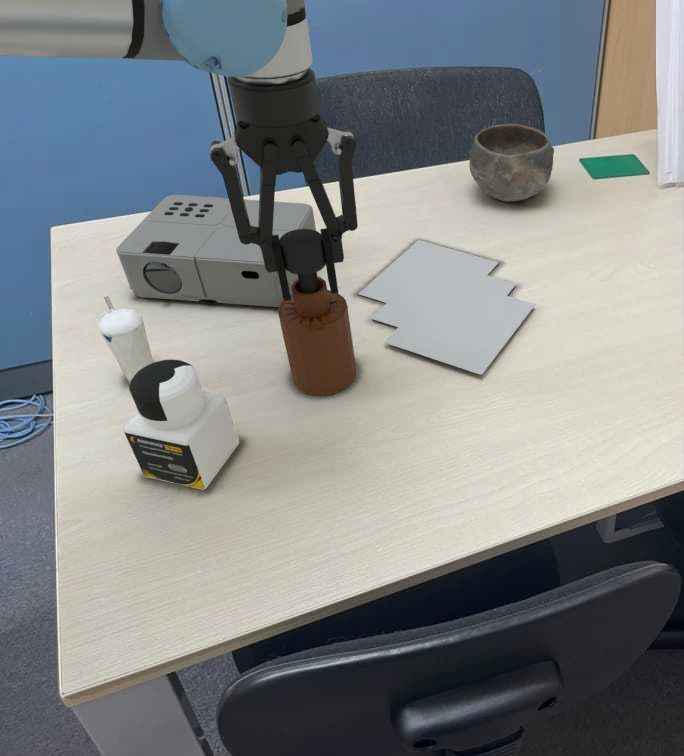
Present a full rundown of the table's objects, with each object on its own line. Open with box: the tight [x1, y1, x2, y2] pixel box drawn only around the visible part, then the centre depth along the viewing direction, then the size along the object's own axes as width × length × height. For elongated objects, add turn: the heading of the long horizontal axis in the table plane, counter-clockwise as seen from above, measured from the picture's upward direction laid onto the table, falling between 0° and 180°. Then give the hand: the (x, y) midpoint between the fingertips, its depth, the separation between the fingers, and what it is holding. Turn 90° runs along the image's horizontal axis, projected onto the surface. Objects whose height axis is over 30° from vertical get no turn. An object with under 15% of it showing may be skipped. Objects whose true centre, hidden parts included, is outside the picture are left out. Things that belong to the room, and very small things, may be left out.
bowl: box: [468, 123, 555, 203], centre depth 121 cm, size 14×15×10 cm
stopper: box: [279, 229, 326, 294], centre depth 76 cm, size 4×4×7 cm
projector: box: [116, 194, 317, 309], centre depth 100 cm, size 17×22×8 cm
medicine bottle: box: [123, 358, 240, 491], centre depth 71 cm, size 7×7×12 cm
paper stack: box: [358, 239, 536, 376], centre depth 98 cm, size 23×25×1 cm
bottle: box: [277, 276, 357, 397], centre depth 82 cm, size 8×8×13 cm
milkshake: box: [97, 294, 155, 384], centre depth 82 cm, size 4×5×10 cm
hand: (310, 289), depth 78 cm, fingers closed on stopper, 4 cm apart
